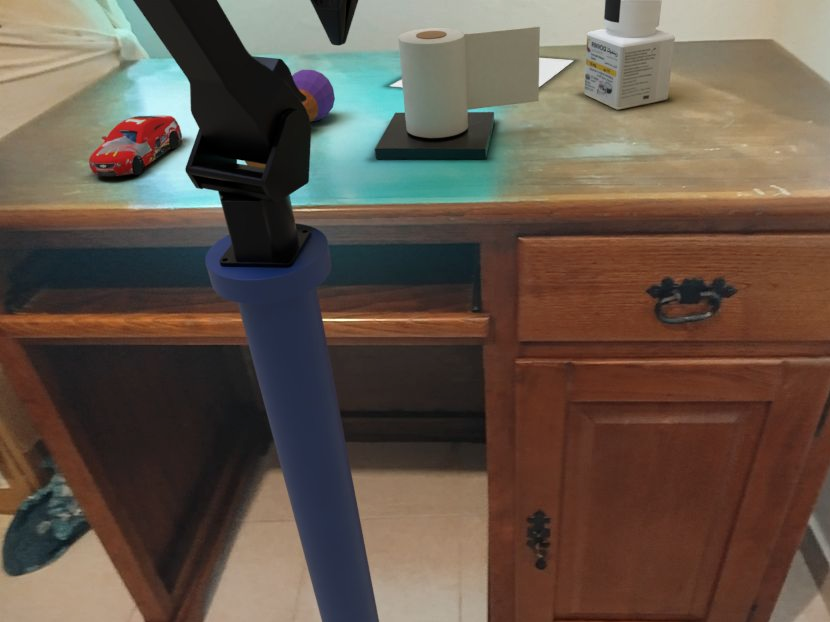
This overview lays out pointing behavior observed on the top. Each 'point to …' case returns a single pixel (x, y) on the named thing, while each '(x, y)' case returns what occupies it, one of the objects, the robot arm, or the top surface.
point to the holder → (437, 141)
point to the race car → (135, 145)
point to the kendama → (312, 96)
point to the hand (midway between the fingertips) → (338, 44)
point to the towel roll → (464, 75)
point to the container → (629, 55)
